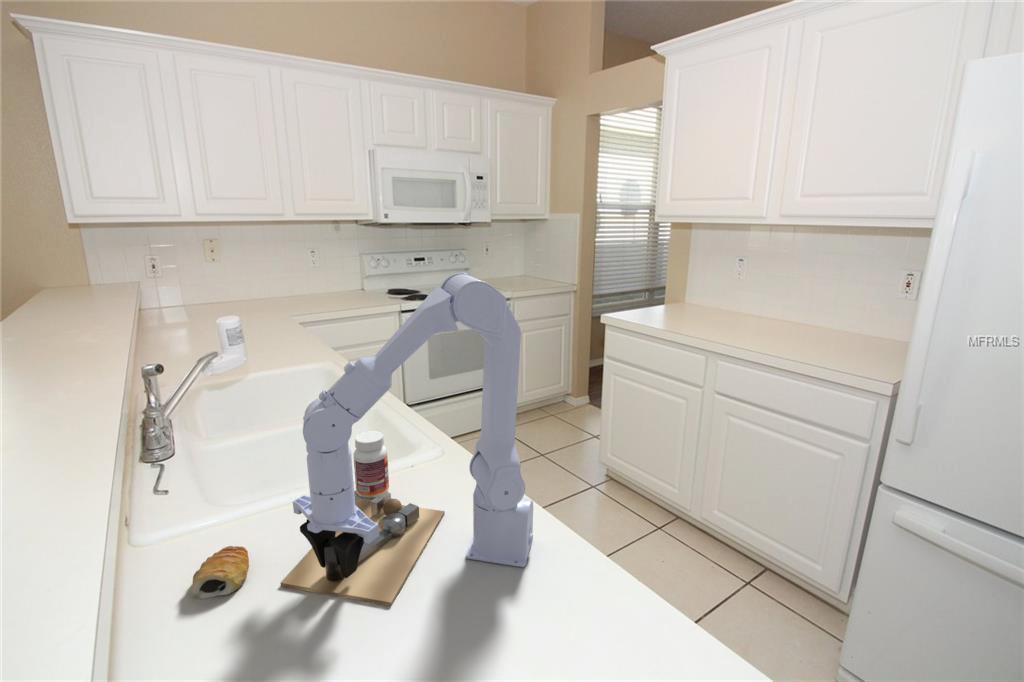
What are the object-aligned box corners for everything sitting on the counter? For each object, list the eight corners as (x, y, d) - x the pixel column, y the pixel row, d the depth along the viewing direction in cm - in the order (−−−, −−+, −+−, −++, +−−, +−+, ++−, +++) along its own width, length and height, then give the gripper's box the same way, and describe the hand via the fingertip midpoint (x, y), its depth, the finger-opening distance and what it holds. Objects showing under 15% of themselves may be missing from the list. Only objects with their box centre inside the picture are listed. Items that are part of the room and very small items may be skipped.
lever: (407, 512, 88) (405, 485, 87) (422, 519, 86) (421, 491, 85) (320, 575, 73) (317, 544, 71) (337, 585, 71) (334, 552, 70)
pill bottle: (393, 493, 96) (391, 438, 93) (361, 502, 92) (357, 446, 89) (382, 478, 101) (379, 426, 98) (351, 487, 97) (348, 434, 94)
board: (444, 514, 89) (444, 511, 89) (391, 606, 68) (391, 602, 68) (356, 501, 93) (356, 499, 92) (280, 586, 72) (280, 582, 72)
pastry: (212, 558, 78) (209, 536, 77) (259, 553, 79) (257, 532, 78) (187, 603, 69) (183, 579, 68) (241, 597, 70) (238, 574, 69)
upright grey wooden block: (385, 505, 90) (384, 491, 90) (391, 508, 90) (390, 493, 89) (371, 516, 87) (370, 501, 87) (377, 518, 87) (376, 503, 86)
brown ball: (405, 512, 89) (404, 496, 88) (397, 522, 86) (397, 506, 85) (388, 509, 89) (387, 493, 88) (380, 520, 86) (379, 503, 85)
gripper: (270, 483, 69) (280, 568, 72) (349, 514, 62) (355, 605, 66) (312, 461, 75) (319, 540, 78) (387, 487, 68) (391, 572, 72)
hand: (338, 568), depth 72 cm, fingers open, 4 cm apart
